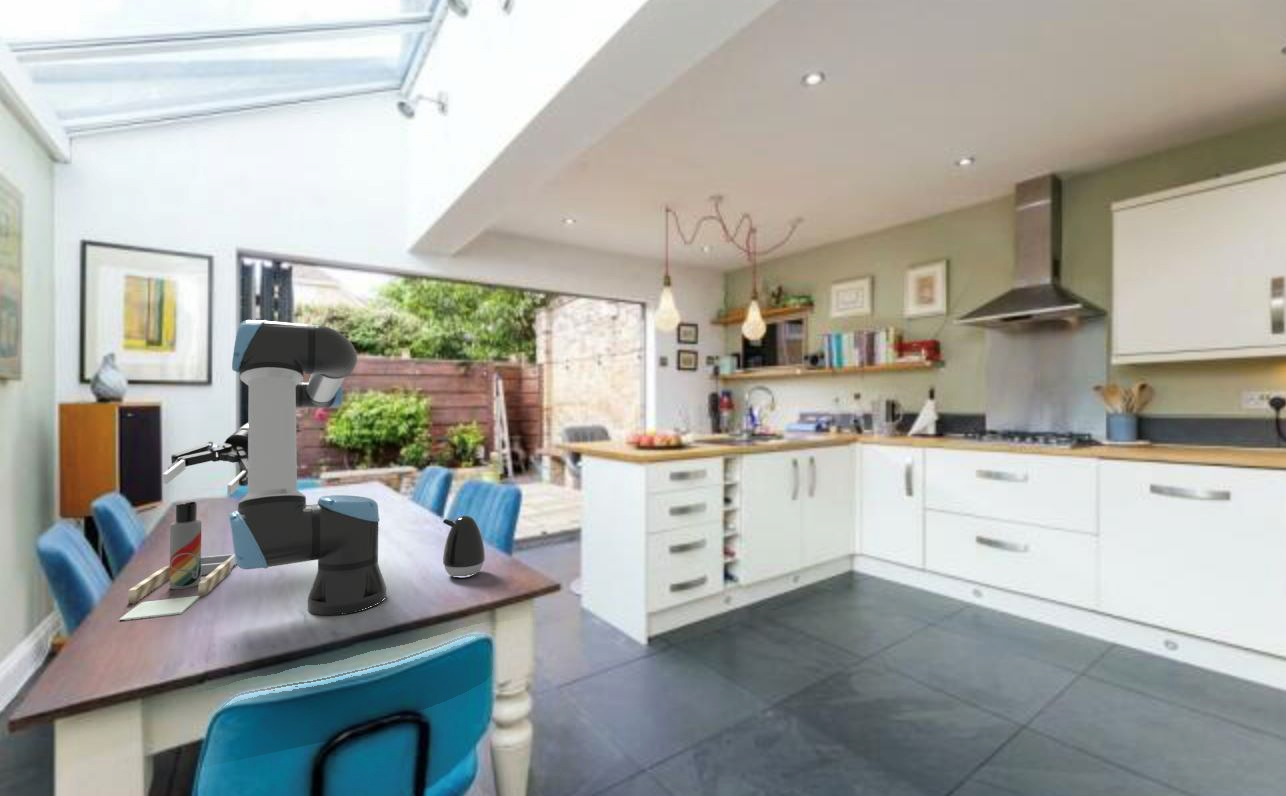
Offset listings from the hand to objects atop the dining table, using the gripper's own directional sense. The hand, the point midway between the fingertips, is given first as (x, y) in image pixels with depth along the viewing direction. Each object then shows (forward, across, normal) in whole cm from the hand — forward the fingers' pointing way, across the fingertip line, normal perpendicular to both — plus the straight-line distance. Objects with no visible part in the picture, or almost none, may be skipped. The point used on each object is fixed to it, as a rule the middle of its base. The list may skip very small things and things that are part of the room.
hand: (197, 484), depth 127 cm
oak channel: (+10, -3, -22) cm, 24 cm away
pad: (+23, -6, -15) cm, 28 cm away
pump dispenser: (+8, -65, -8) cm, 66 cm away
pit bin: (-2, 0, -28) cm, 28 cm away
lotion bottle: (+9, -2, -23) cm, 25 cm away
